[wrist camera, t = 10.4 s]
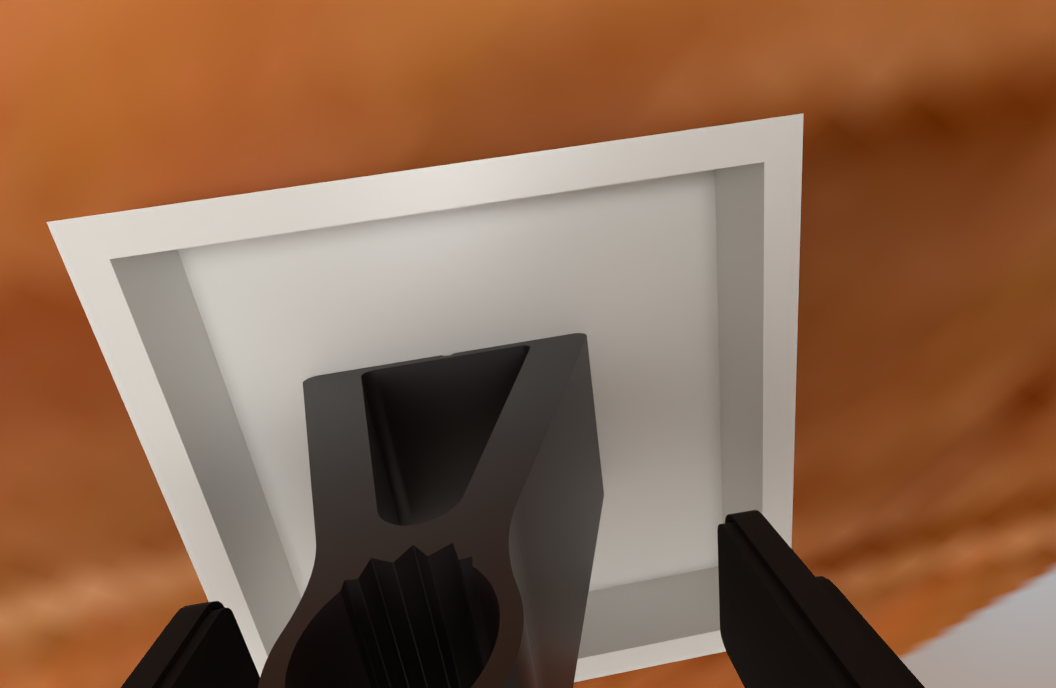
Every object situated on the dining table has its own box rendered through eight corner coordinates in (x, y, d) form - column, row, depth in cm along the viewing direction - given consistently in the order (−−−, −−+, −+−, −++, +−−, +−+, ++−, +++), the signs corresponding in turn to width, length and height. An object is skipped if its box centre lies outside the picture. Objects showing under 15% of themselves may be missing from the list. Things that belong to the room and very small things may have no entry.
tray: (732, 131, 15) (803, 113, 12) (738, 566, 21) (789, 638, 17) (145, 215, 14) (45, 222, 11) (305, 651, 20) (269, 744, 16)
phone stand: (352, 532, 17) (110, 1187, 6) (306, 375, 16) (-170, 880, 4) (601, 488, 18) (824, 1012, 6) (585, 331, 16) (856, 671, 5)
